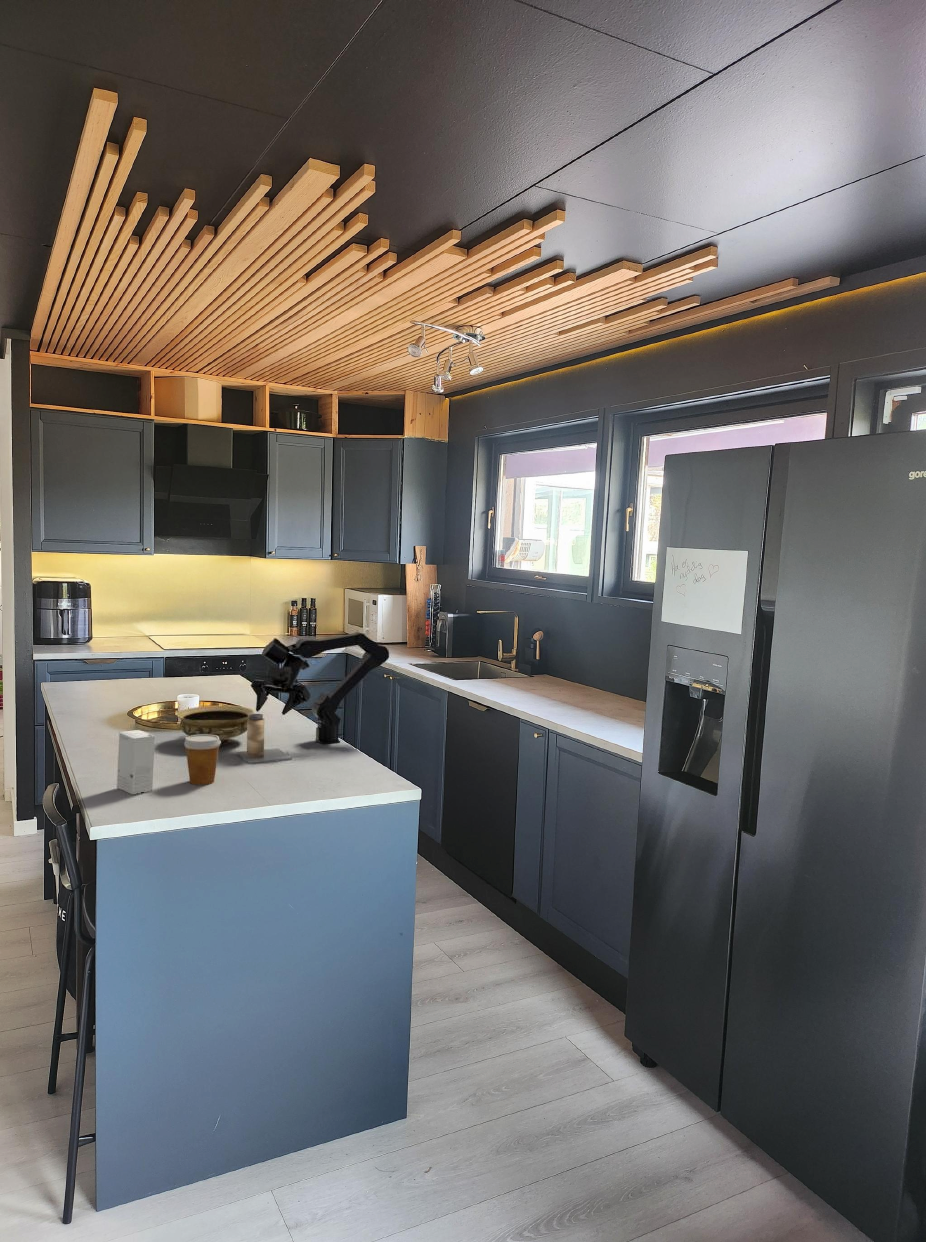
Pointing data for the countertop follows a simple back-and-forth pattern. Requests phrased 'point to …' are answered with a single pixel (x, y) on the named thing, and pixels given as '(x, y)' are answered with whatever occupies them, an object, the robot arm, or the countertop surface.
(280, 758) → the slate tile
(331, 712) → the robot arm
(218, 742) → the disposable coffee cup
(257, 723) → the oak pepper mill
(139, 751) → the skincare box
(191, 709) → the gold ornate bowl
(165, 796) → the countertop surface
